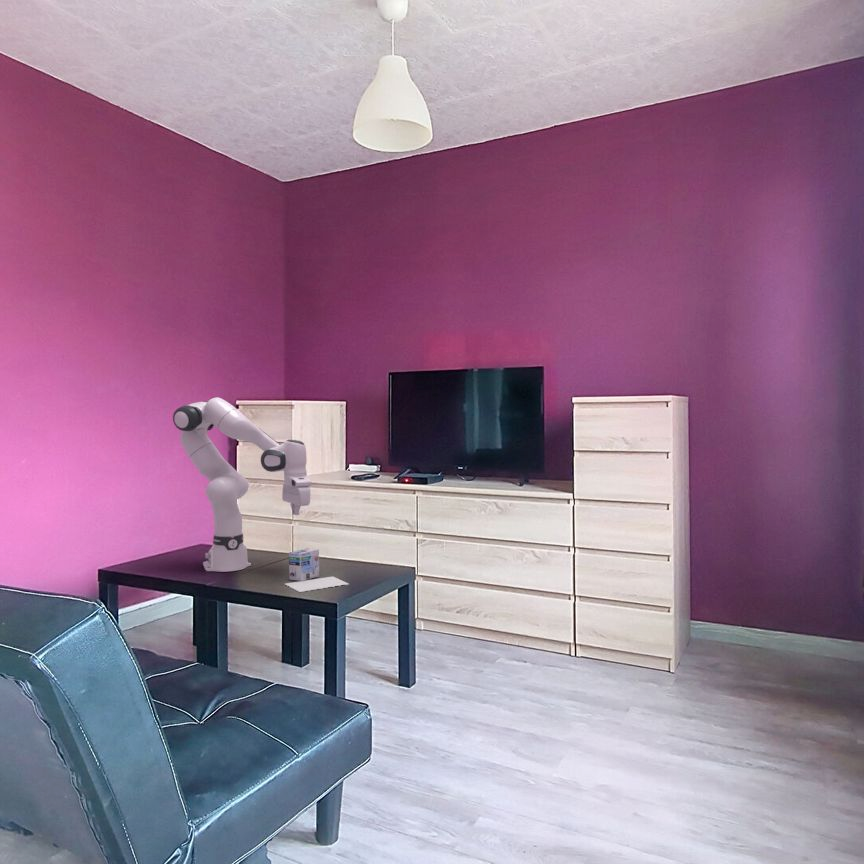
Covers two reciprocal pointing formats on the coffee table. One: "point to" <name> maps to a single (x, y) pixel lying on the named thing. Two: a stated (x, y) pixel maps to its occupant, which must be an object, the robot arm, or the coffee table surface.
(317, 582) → the mat
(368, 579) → the coffee table surface
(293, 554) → the light bulb box
